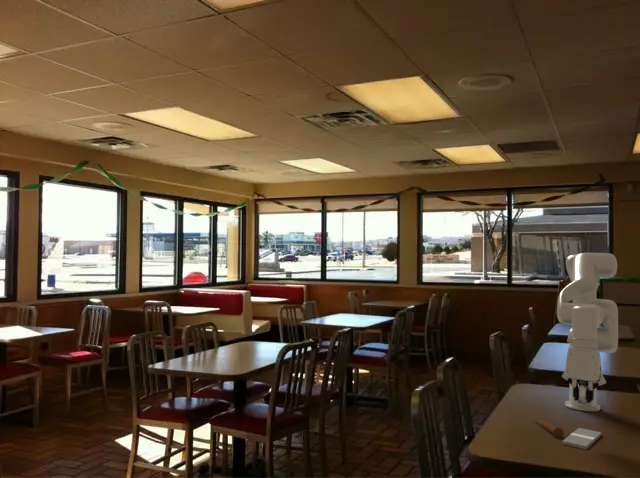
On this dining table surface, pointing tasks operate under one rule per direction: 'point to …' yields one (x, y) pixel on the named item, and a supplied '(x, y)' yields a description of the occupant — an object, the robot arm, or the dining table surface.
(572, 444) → the panel
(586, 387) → the steel peg
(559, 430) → the primitive tool
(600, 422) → the dining table surface
